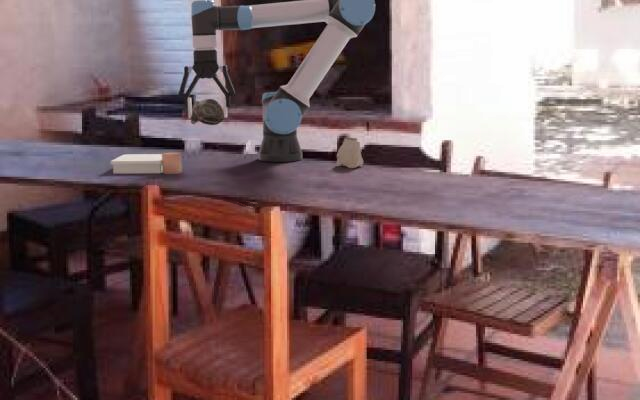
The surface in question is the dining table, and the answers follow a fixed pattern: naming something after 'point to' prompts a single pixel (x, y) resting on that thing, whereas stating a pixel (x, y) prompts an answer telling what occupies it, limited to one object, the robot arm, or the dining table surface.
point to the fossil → (207, 112)
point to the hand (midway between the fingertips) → (208, 117)
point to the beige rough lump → (350, 153)
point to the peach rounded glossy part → (171, 163)
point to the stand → (138, 163)
